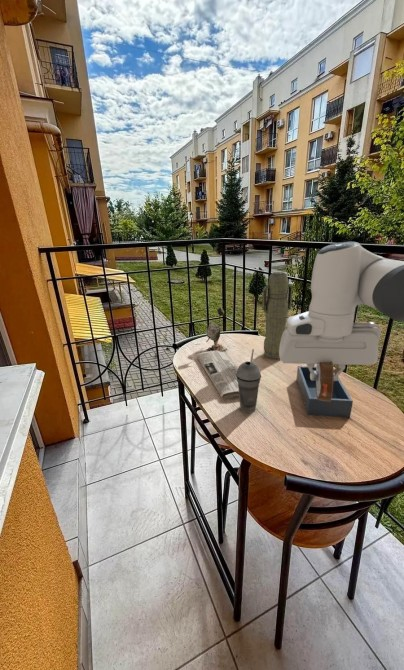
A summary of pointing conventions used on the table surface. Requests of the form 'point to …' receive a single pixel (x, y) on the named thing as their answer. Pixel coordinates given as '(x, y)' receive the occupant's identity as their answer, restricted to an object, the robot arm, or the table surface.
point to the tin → (325, 381)
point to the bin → (336, 407)
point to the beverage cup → (248, 385)
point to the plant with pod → (215, 333)
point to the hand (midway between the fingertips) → (323, 379)
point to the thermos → (276, 312)
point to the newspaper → (220, 372)
